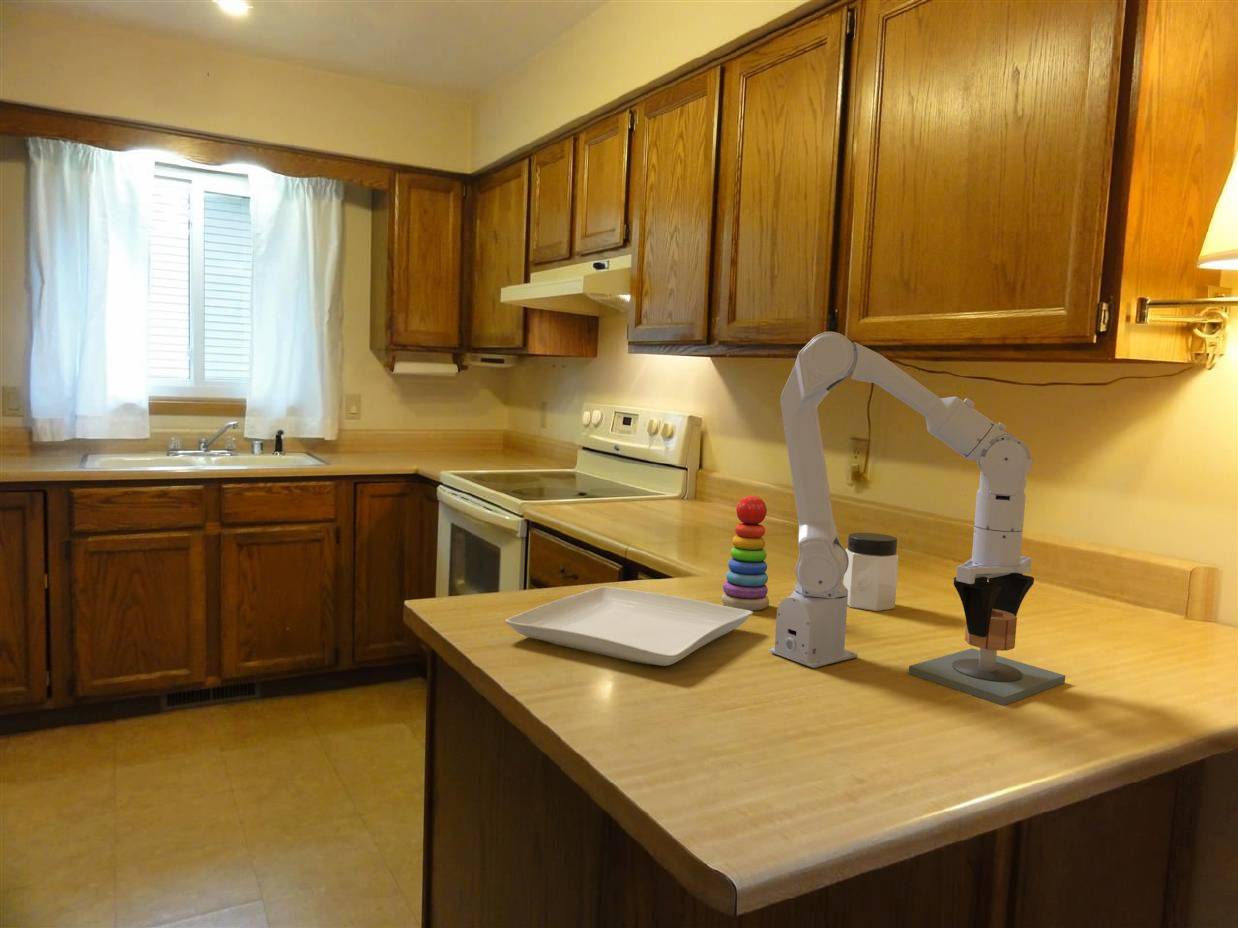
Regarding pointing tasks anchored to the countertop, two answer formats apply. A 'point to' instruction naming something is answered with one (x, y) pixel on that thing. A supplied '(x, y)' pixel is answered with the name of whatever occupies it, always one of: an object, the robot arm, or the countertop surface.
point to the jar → (871, 571)
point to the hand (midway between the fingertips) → (990, 631)
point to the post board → (987, 675)
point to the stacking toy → (748, 559)
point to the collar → (996, 632)
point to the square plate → (629, 624)
